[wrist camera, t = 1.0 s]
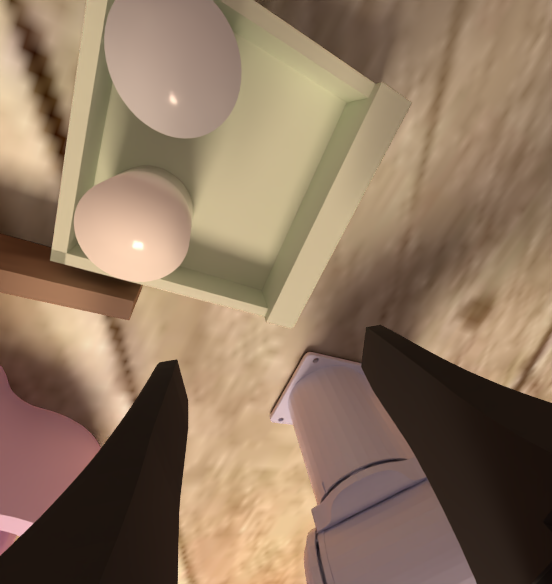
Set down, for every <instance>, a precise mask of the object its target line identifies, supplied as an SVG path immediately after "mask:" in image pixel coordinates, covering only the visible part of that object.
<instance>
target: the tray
mask: <svg viewBox="0 0 552 584" xmlns="http://www.w3.org/2000/svg"><path fill="white" fill-rule="evenodd" d="M114 1H115V0H87V1H86V8H85V16H84V23H83V30H82V37H81V44H80V51H79V58H78V65H77V72H76V79H75V87H74V94H73V101H72V108H71V115H70V122H69V129H68V136H67V143H66V151H65V158H64V165H63V172H62V179H61V186H60V193H59V200H58V207H57V214H56V222H55V229H54V236H53V243H52V250H51V257H50V261H54V262H57V263H61V264H65V265H69V266H73V267H76V268H80V269H84V270H88V271H92V272H95V273H99V274H103V275H107V276H111V277H114V276H112V275H109V274H108V273H106V272H104V271H103V270H101V269H100V268H98V267H97V266H96V265H95V264H94V263H92V262H91V261H90V259H89V258H88V257H87V256H86V255H85V253H84V252H83V251H82V249H81V247H80V245H79V243H78V241H77V238H76V235H75V230H74V215H75V211H76V207H77V205H78V203H79V201H80V199H81V198H82V196H83V195H84V194H85V193H86V192H87V191H88V190H89V189H91V188H92V187H93V186H95V185H97V184H99V183H101V182H103V181H105V180H107V179H109V178H111V177H113V176H116V175H118V174H120V173H122V172H124V171H126V170H128V169H130V168H133V167H136V166H143V165H149V166H156V167H160V168H163V169H165V170H167V171H169V172H171V173H172V174H174V175H175V176H176V177H177V178H179V179H180V180H181V181H182V182H183V184H184V185H185V186H186V188H187V190H188V191H189V193H190V196H191V199H192V202H193V220H192V227H191V234H190V242H189V248H188V251H187V254H186V256H185V258H184V260H183V262H182V263H181V264H180V265H179V267H178V268H177V269H175V270H174V271H173V272H172V273H170V274H169V275H167V276H165V277H163V278H160V279H157V280H153V281H147V282H134V283H137V284H141V285H145V286H149V287H153V288H156V289H160V290H164V291H168V292H172V293H175V294H179V295H183V296H187V297H191V298H194V299H198V300H202V301H206V302H210V303H214V304H217V305H221V306H225V307H229V308H233V309H236V310H240V311H244V312H248V313H252V314H255V315H259V316H263V317H265V320H266V322H267V323H271V324H275V325H279V326H283V327H287V328H290V329H293V328H294V326H295V324H296V322H297V320H298V318H299V316H300V314H301V312H302V310H303V309H304V307H305V305H306V303H307V301H308V299H309V297H310V295H311V293H312V292H313V290H314V288H315V286H316V284H317V282H318V280H319V278H320V276H321V274H322V273H323V271H324V269H325V267H326V265H327V263H328V261H329V259H330V257H331V256H332V254H333V252H334V250H335V248H336V246H337V244H338V242H339V240H340V238H341V237H342V235H343V233H344V231H345V229H346V227H347V225H348V223H349V221H350V220H351V218H352V216H353V214H354V212H355V210H356V208H357V206H358V204H359V202H360V201H361V199H362V197H363V195H364V193H365V191H366V189H367V187H368V185H369V184H370V182H371V180H372V178H373V176H374V174H375V172H376V170H377V168H378V166H379V165H380V163H381V161H382V159H383V157H384V155H385V153H386V151H387V149H388V148H389V146H390V144H391V142H392V140H393V138H394V136H395V134H396V132H397V130H398V129H399V127H400V125H401V123H402V121H403V119H404V117H405V115H406V113H407V112H408V110H409V108H410V106H411V104H412V102H411V101H409V100H408V99H406V98H405V97H404V96H402V95H401V94H399V93H398V92H396V91H395V90H394V89H392V88H391V87H389V86H388V85H386V84H385V83H383V82H380V83H376V84H375V83H374V82H372V81H371V80H369V79H368V78H366V77H365V76H363V75H362V74H361V73H359V72H358V71H356V70H355V69H353V68H352V67H350V66H349V65H347V64H346V63H345V62H343V61H342V60H340V59H339V58H337V57H336V56H334V55H333V54H331V53H330V52H329V51H327V50H326V49H324V48H323V47H321V46H320V45H318V44H317V43H315V42H314V41H313V40H311V39H310V38H308V37H307V36H305V35H304V34H302V33H301V32H299V31H298V30H296V29H295V28H294V27H292V26H291V25H289V24H288V23H286V22H285V21H283V20H282V19H280V18H279V17H278V16H276V15H275V14H273V13H272V12H270V11H269V10H267V9H266V8H264V7H263V6H262V5H260V4H259V3H257V2H256V1H254V0H213V1H214V2H215V4H216V5H217V6H218V7H219V8H220V10H221V11H222V13H223V14H224V16H225V17H226V19H227V21H228V23H229V24H230V26H231V28H232V31H233V33H234V36H235V38H236V41H237V45H238V48H239V53H240V58H241V69H242V73H241V86H240V91H239V95H238V99H237V101H236V104H235V106H234V108H233V110H232V112H231V114H230V115H229V116H228V118H227V119H226V120H225V121H224V122H223V123H222V124H221V125H220V126H219V127H218V128H217V129H215V130H214V131H212V132H210V133H208V134H206V135H203V136H201V137H196V138H186V139H184V138H175V137H171V136H167V135H165V134H162V133H160V132H158V131H156V130H154V129H152V128H151V127H149V126H148V125H146V124H145V123H143V122H142V121H141V120H140V119H139V118H138V117H136V116H135V114H134V113H133V112H132V111H131V110H130V109H129V108H128V107H127V105H126V104H125V103H124V101H123V100H122V98H121V97H120V95H119V93H118V92H117V90H116V88H115V86H114V83H113V81H112V79H111V76H110V73H109V70H108V66H107V62H106V56H105V49H104V35H105V26H106V21H107V17H108V14H109V12H110V9H111V7H112V5H113V3H114ZM114 278H116V277H114ZM118 279H119V278H118ZM122 280H123V279H122ZM126 281H127V280H126ZM130 282H133V281H130Z"/></svg>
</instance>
